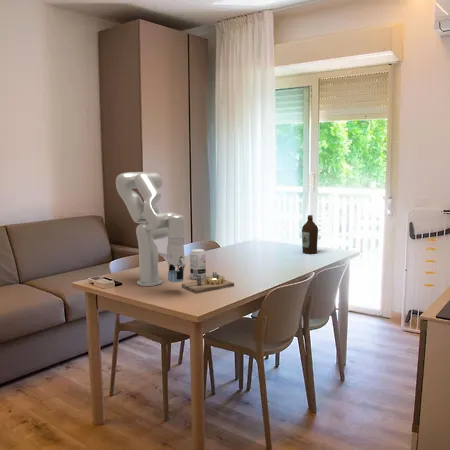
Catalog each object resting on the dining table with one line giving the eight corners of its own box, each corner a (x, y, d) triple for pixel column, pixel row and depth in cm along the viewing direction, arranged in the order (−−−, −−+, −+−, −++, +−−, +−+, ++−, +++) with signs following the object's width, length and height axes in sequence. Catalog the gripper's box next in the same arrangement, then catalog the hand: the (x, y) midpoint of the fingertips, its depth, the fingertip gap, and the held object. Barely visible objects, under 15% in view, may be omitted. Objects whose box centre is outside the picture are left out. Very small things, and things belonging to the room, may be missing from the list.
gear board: (181, 287, 242) (181, 274, 241) (218, 280, 254) (218, 268, 253) (195, 293, 230) (195, 280, 229) (234, 286, 242) (234, 273, 241)
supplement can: (190, 276, 263) (189, 248, 261) (205, 275, 264) (205, 248, 262) (190, 280, 255) (189, 251, 253) (206, 279, 256) (205, 251, 253)
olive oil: (310, 250, 330) (310, 214, 326) (321, 253, 321) (321, 215, 317) (298, 252, 324) (298, 215, 321) (309, 255, 315) (309, 216, 312)
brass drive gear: (201, 281, 245) (201, 272, 244) (217, 279, 251) (217, 269, 250) (211, 286, 237) (211, 276, 236) (228, 282, 242) (228, 273, 242)
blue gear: (165, 279, 233) (165, 271, 233) (178, 277, 237) (178, 269, 237) (172, 283, 228) (172, 274, 227) (186, 281, 232) (186, 272, 231)
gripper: (160, 238, 234) (160, 273, 237) (177, 245, 220) (177, 282, 223) (174, 236, 238) (174, 271, 241) (192, 243, 224) (191, 280, 227)
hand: (175, 276), depth 232 cm, fingers closed on blue gear, 7 cm apart
